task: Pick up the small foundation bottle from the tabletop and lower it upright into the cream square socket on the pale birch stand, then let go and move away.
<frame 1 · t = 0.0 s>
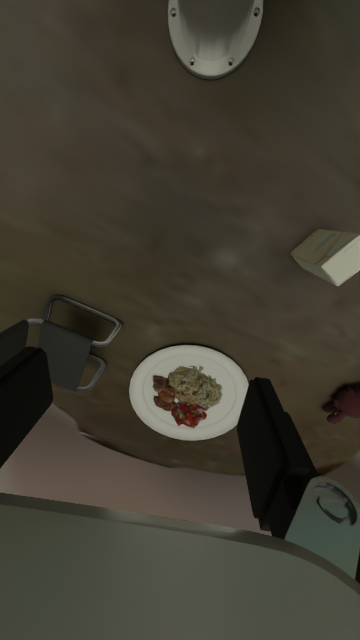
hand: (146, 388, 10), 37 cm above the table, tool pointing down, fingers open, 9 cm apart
skincare box: (309, 249, 42), on the table
plated food: (188, 392, 58), on the table
chair: (82, 329, 53), on the table
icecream: (347, 390, 54), on the table
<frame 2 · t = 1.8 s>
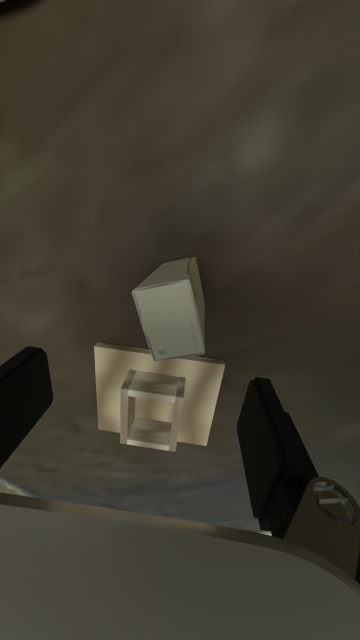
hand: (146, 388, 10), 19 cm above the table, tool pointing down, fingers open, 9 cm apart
skincare box: (182, 283, 28), on the table
socket stand: (156, 394, 35), on the table
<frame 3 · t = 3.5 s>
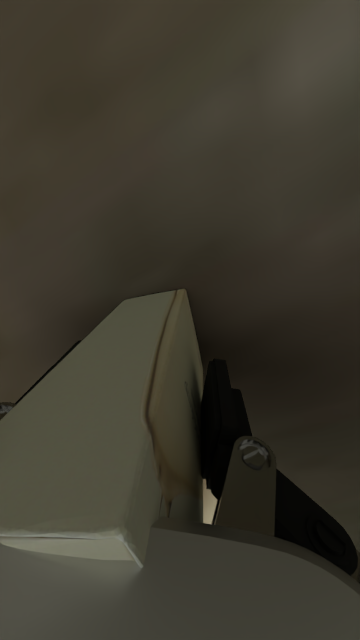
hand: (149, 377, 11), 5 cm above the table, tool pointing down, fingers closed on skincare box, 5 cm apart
skincare box: (163, 333, 15), on the table, touching gripper
socket stand: (128, 490, 23), on the table
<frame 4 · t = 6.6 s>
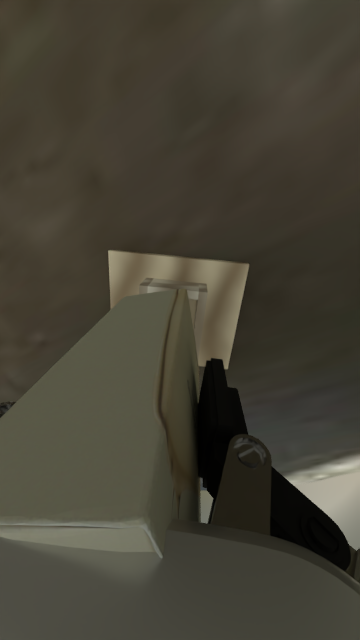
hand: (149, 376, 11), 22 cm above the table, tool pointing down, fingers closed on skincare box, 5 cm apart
skincare box: (161, 331, 16), point 17 cm above the table, touching gripper
socket stand: (174, 312, 33), on the table
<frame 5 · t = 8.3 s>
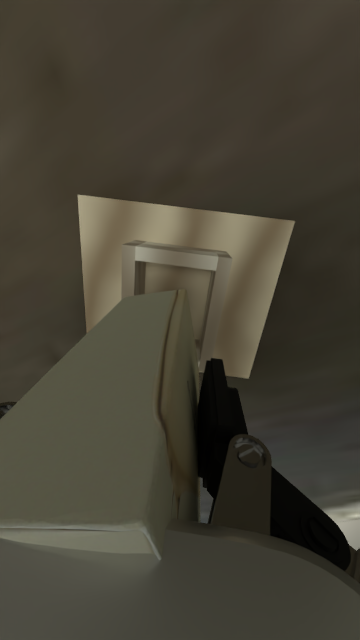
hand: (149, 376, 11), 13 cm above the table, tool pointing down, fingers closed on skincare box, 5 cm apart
skincare box: (161, 332, 16), point 8 cm above the table, touching gripper
socket stand: (176, 295, 23), on the table
when the fingers open (7 cm above the table, at t = 9.8 s): skincare box drops 1 cm, resting on socket stand.
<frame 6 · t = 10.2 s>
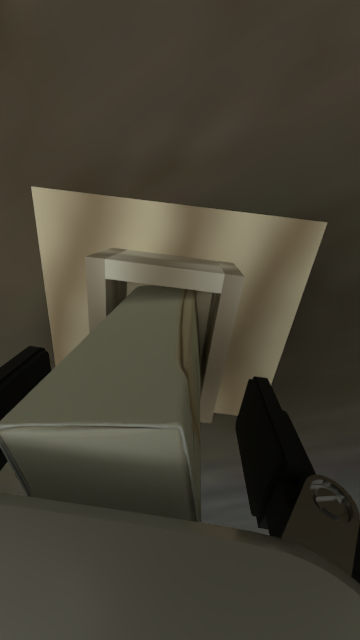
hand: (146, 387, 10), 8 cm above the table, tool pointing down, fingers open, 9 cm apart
skincare box: (168, 321, 17), point 1 cm above the table, touching socket stand
socket stand: (167, 317, 18), on the table
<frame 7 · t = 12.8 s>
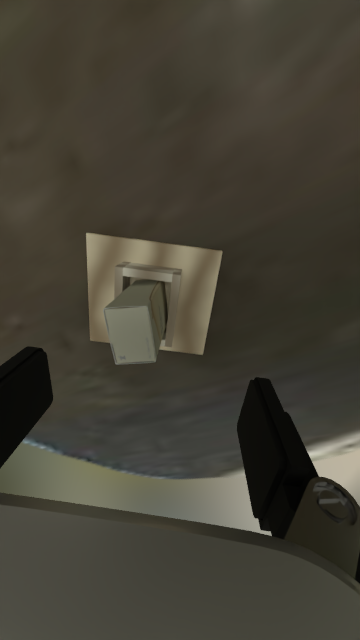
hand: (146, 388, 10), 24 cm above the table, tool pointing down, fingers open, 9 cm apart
skincare box: (151, 298, 33), point 1 cm above the table, touching socket stand
socket stand: (151, 297, 34), on the table
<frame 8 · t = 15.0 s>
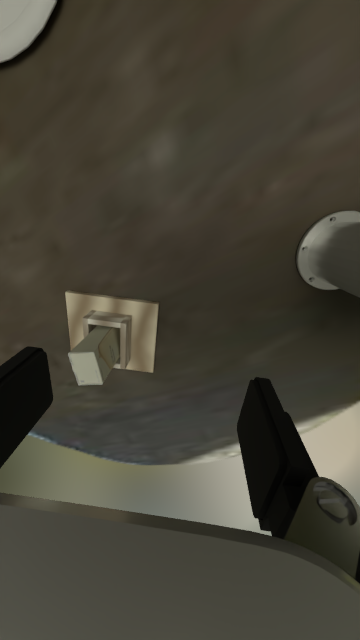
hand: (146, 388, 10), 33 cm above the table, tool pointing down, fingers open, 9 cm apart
skincare box: (113, 334, 47), point 1 cm above the table, touching socket stand
socket stand: (114, 332, 48), on the table
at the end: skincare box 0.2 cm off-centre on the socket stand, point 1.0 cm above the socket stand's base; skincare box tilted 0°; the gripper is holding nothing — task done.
